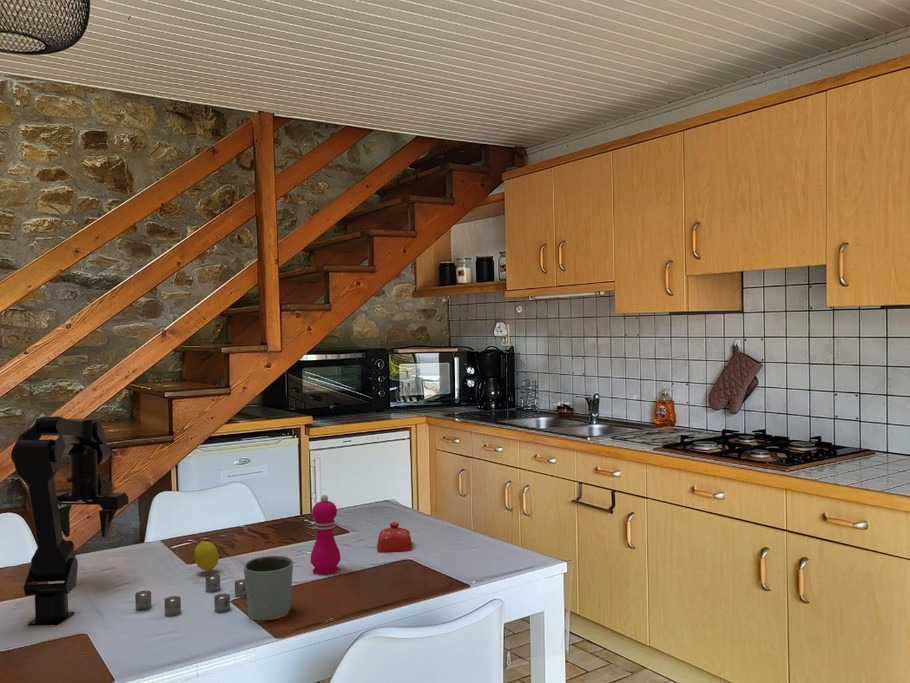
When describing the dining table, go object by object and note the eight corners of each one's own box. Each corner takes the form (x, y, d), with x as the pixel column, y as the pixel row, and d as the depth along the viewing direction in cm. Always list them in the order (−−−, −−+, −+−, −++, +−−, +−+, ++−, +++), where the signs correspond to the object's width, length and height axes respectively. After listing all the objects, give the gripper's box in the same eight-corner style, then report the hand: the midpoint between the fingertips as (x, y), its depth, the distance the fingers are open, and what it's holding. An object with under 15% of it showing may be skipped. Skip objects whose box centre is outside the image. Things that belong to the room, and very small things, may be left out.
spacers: (228, 621, 158) (227, 602, 158) (125, 619, 160) (125, 600, 160) (256, 592, 175) (255, 574, 175) (163, 590, 177) (163, 573, 177)
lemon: (218, 573, 184) (209, 543, 183) (196, 578, 185) (187, 548, 183) (225, 563, 190) (216, 534, 189) (203, 568, 190) (194, 539, 189)
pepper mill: (304, 578, 184) (303, 496, 184) (323, 569, 191) (321, 490, 190) (328, 583, 181) (327, 499, 180) (346, 573, 187) (345, 493, 187)
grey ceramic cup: (274, 606, 166) (273, 552, 166) (304, 617, 160) (303, 561, 160) (234, 621, 158) (233, 564, 158) (264, 633, 152) (263, 574, 152)
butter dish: (374, 547, 209) (374, 517, 209) (416, 546, 210) (416, 516, 209) (371, 561, 198) (371, 528, 197) (416, 560, 198) (415, 527, 198)
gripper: (139, 464, 187) (140, 527, 187) (66, 464, 188) (68, 527, 189) (115, 474, 176) (117, 541, 176) (38, 473, 177) (40, 540, 178)
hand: (86, 536), depth 180 cm, fingers open, 9 cm apart
